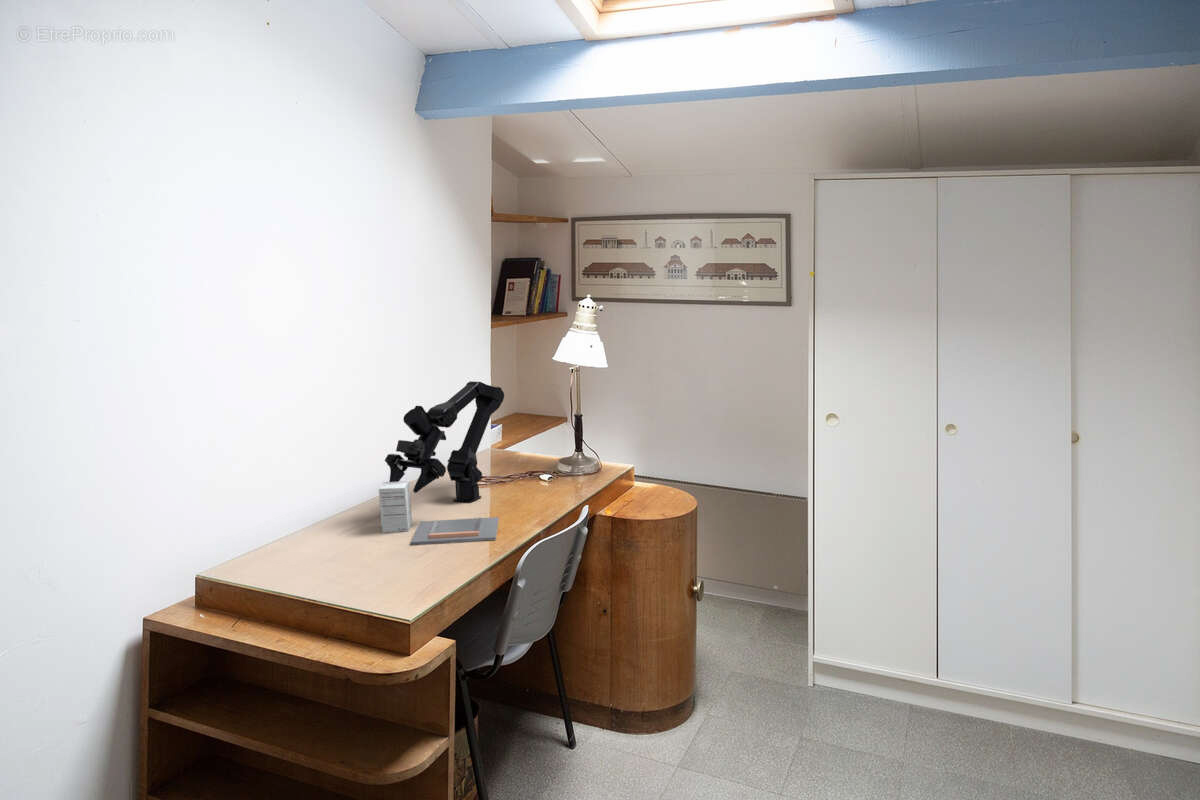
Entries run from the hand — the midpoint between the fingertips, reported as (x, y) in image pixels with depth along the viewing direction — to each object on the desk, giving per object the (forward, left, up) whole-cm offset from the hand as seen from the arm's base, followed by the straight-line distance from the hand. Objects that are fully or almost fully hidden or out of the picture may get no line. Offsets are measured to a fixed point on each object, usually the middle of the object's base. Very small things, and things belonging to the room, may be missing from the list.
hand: (401, 490), depth 222 cm
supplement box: (0, -3, -10) cm, 11 cm away
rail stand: (+18, 0, -10) cm, 21 cm away
